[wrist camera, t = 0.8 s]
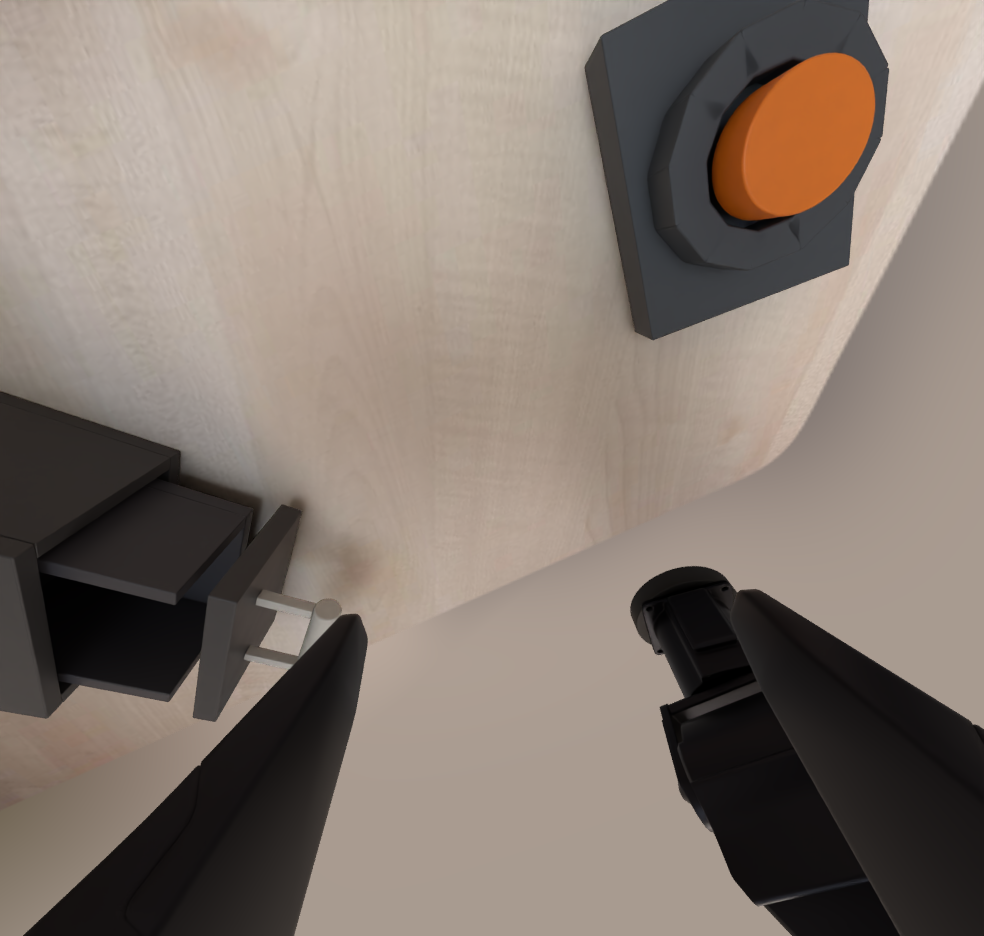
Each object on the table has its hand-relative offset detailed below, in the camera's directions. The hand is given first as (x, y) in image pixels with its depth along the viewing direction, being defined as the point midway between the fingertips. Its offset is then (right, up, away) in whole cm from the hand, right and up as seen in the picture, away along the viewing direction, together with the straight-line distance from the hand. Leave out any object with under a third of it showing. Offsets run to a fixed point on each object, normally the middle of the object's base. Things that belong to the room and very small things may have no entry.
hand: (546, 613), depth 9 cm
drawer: (-18, -2, +14) cm, 23 cm away
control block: (+8, +16, +6) cm, 18 cm away
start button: (+8, +14, +3) cm, 16 cm away
